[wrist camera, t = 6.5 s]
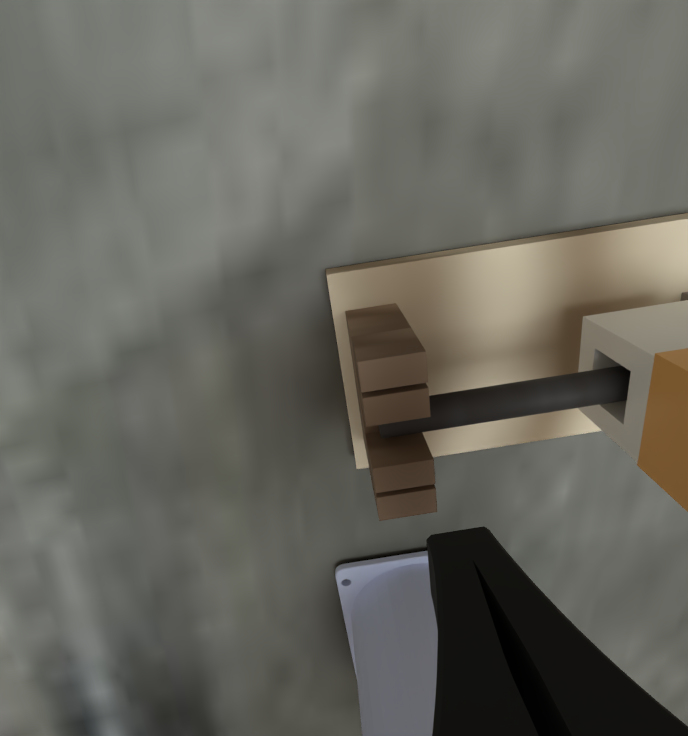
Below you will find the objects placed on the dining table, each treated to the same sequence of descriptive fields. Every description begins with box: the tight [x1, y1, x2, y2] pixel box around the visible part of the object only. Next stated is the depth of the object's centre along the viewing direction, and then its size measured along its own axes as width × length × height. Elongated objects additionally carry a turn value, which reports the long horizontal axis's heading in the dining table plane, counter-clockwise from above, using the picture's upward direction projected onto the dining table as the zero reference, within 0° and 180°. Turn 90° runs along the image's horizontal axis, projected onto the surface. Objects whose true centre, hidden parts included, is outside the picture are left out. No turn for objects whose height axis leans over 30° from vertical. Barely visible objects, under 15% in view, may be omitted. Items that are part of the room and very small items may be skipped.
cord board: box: [326, 213, 688, 521], centre depth 17 cm, size 18×9×6 cm, turn 98°
